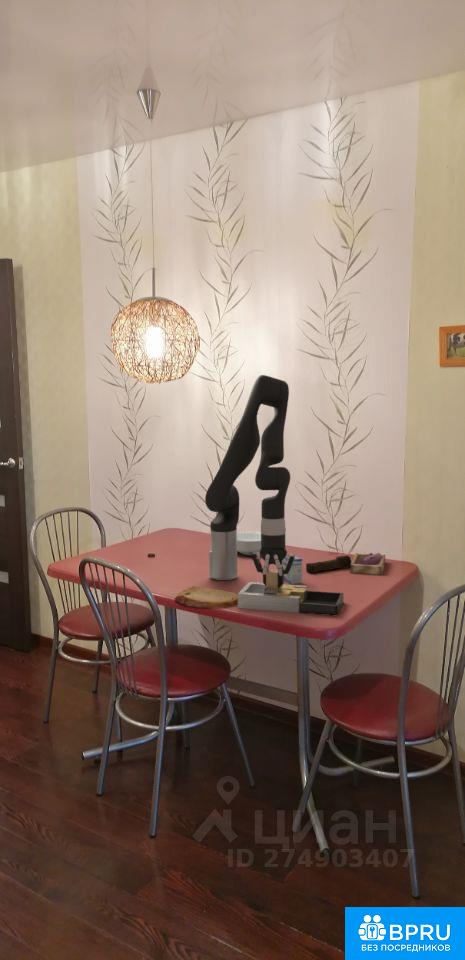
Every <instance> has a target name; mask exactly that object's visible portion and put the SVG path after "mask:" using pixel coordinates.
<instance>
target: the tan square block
mask: <svg viewBox="0 0 465 960" xmlns="http://www.w3.org/2000/svg"><path fill="white" fill-rule="evenodd" d="M307 591H308V590H307ZM307 591H306V588H293V589H292V591H291V596H300V602H304V601H305V600H306V598H307Z"/></svg>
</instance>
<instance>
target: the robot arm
mask: <svg viewBox="0 0 465 960" xmlns="http://www.w3.org/2000/svg"><path fill="white" fill-rule="evenodd" d="M289 388H290V387H289V384H288V383H287V381H285V380H282V379H279V378H275V377H273V376H270V375H265V374H260V375H259V376H258V377H257V378H256V380H255V381H254V383H253V385H252V388H251V391H250V394H249V395H248V396H249V397H248V400H247V401H246V402H247V403H246V405H245V408H244V411H243V414H242V415H241V416H242V417H241V418H240V421H239V424H238V425H237V428H236V430H235V432H234V434H233V436H232V439H231V441H230V443H229V446H228V448H227V451H226V453H225V454H224V458H223V460H222V462H221V464H220V466H219V468H218V470H217V472H216V475H215V476H214V478H213V479H212V481H211V483H210V485H209V487H208V489H207V490H206V494H205V497H204V498H205V500H204V502H205V505H206V508H207V509H208V510H209V511H211V512H215V513H216V515H215V517H214V518H213V519H212V520H211V521H210V526H209V527H210V551H208V558H209V559H208V560H209V561H208V563H209V565H208V566H209V579H212V580H217V581H230V580H235V579H237V578H238V551H237V533H238V530H237V529H238V528H237V526H238V522H239V518H240V494H239V491H238V488H237V487H236V486H235V482H236V480H237V479H238V478H239V476H241V475H242V473H243V472H244V471H245V470H246V469H247V468H248V467H249V466H250V464H251V463H252V461H253V460H254V458H255V455H256V453H257V451H258V449H259V447H260V461H259V463H258V468H257V471H256V474H255V478H254V481H255V485H256V487H257V489H258V490H260V491H277V494H275V495H272V496H270V497H265V498H263V499H262V500H261V520H260V521H261V522H260V532H261V550H260V552H257V553H256V552H254V553H253V554H252V555H251V558H252V561H253V564H254V567H255V569H256V572H258V573H261V574H262V583H263V584H265V586H266V572H267V571H268V570H269V569H270V565H274V566H276V570H278V573H279V575H278V587H281V586H282V585H283V584H285V583H284V582H285V581H284V574H288V572H289V571H290V569H291V567H292V564H293V561H294V559H295V556H296V555H295V554H292V555H290V554H291V553H288V551H287V549H286V531H287V529H286V520H285V518H286V517H285V504H286V496H287V493H288V490H289V485H290V483H291V473H290V471H289V469H288V468H287V467H285V466H278V467H277V466H275V465H279V464H280V463H282V462H283V461H284V457H285V453H284V451H285V449H284V446H285V445H284V444H285V443H284V438H285V437H284V436H285V435H284V433H285V424H286V418H287V412H288V406H289V405H288V404H289V395H290V389H289ZM261 405H264V406H268V407H270V408H273V409H274V410H273V414H274V415H273V416H272V419H271V421H270V422H269V423H268V425H267V426H266V427H265V429H264V430H263V432H262V434H261V435H260V430H259V426H258V413H259V410H260V406H261ZM285 557H287V561H288V564H287V566H286V569H284V568H283V562H282V561H283V559H284V558H285ZM260 558H262V559H263V561H264V563H263V566H262V562H261V559H260Z"/></svg>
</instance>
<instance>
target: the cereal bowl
mask: <svg viewBox="0 0 465 960" xmlns="http://www.w3.org/2000/svg"><path fill="white" fill-rule="evenodd" d="M260 550H261V531H240V532H238V531H237V553H240V554H241V555H245V556H252V554H253V553H254V552H256V553H257V552H260Z"/></svg>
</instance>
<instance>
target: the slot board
mask: <svg viewBox="0 0 465 960" xmlns="http://www.w3.org/2000/svg"><path fill="white" fill-rule="evenodd" d="M283 585H288V584H285V583H283ZM294 585H295V588H306V591H307V598H306V600H305V601H304V602H300V596H287V595H273V594H264V589H265V588H266V586H265V584H263V582H258V581H257V582H255V581H248V582H246V584H245V585H244V587H242V589H240V591H238V593H237V594H238V605H237V608H238V609H246V610H249V609H250V610H258V611H259V610H260V611H270V612H285V613H297V614H308V613H313V615H321V614H329V615H328V616H333V615H339V613H340V611H341V609H340V608H342V607H343V604H344V592H333V591H319V590H308V586H307V585H299V584H294ZM314 613H315V614H314Z"/></svg>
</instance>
